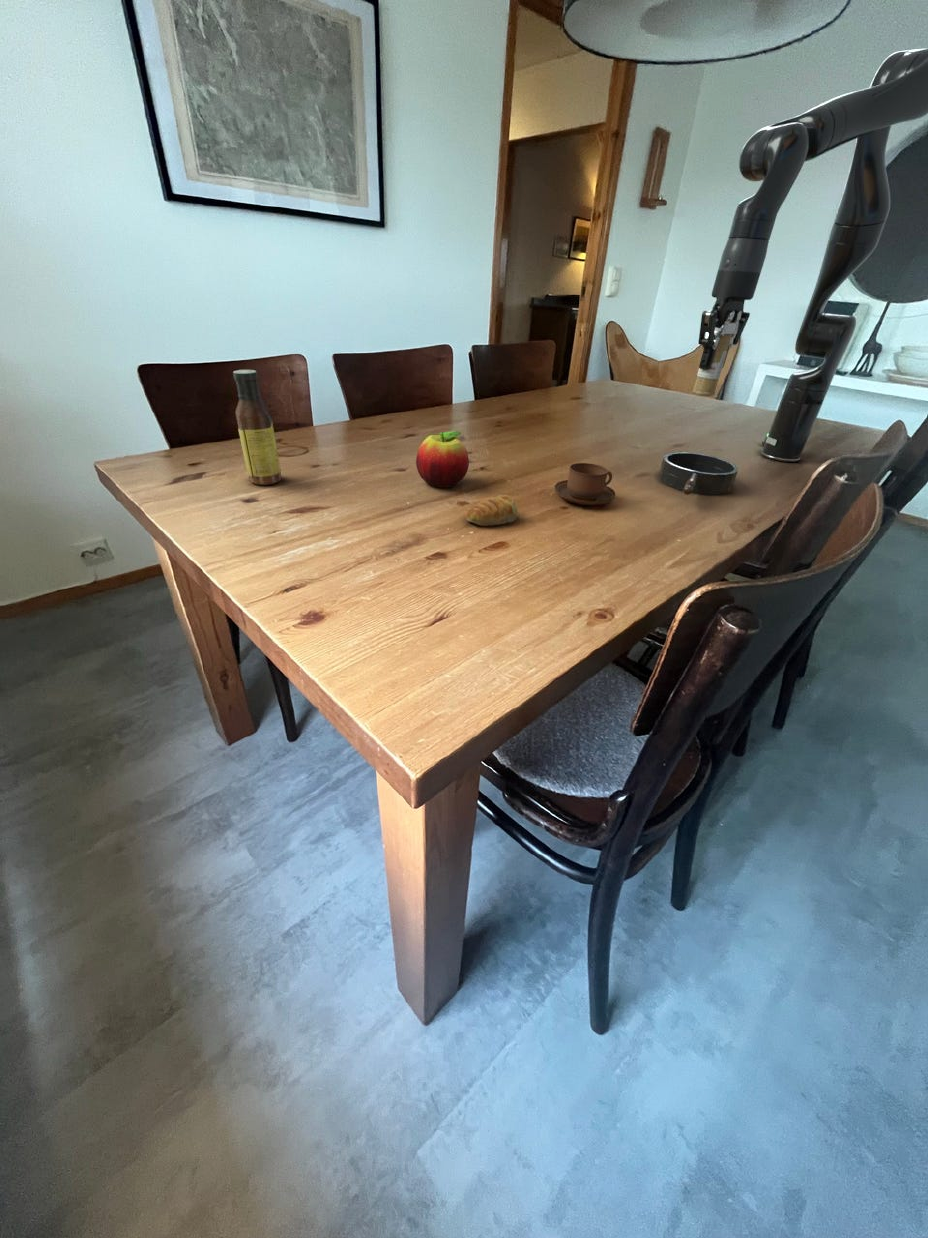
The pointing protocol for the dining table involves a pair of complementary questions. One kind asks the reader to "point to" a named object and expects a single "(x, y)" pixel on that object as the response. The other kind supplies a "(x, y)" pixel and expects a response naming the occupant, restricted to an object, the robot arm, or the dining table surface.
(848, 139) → the robot arm
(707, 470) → the pan
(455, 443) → the fruit
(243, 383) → the sauce bottle
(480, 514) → the pastry
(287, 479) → the dining table surface
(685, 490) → the pan handle
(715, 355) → the sprinkles bottle
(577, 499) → the cup and saucer
